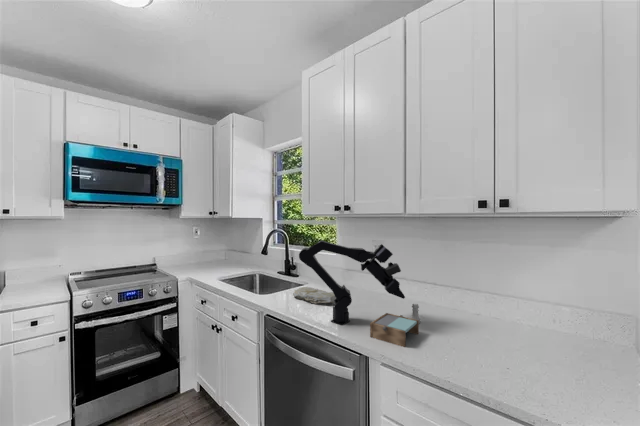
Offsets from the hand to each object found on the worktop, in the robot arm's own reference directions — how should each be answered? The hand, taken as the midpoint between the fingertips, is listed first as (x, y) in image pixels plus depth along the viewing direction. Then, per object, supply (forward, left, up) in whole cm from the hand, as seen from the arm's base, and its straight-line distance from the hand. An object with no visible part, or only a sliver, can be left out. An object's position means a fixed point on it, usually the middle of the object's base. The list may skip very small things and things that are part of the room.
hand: (401, 294), depth 130 cm
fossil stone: (-52, +2, -13) cm, 54 cm away
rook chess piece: (+5, +4, -12) cm, 14 cm away
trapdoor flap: (+4, -15, -9) cm, 18 cm away
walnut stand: (+3, -15, -12) cm, 20 cm away
